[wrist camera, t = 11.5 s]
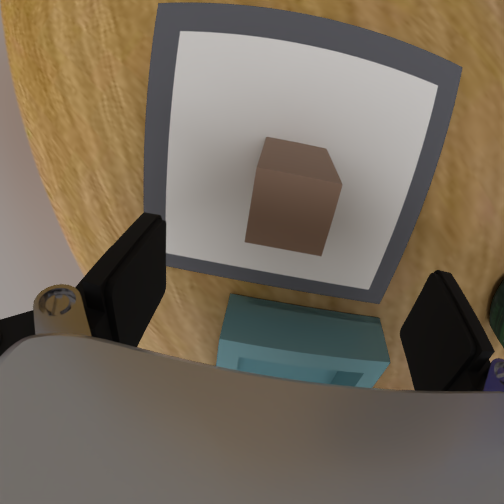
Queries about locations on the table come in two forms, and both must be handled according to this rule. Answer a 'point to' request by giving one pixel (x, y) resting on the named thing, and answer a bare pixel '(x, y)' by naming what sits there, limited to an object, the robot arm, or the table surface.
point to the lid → (289, 156)
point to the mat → (308, 33)
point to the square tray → (302, 343)
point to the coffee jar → (498, 314)
